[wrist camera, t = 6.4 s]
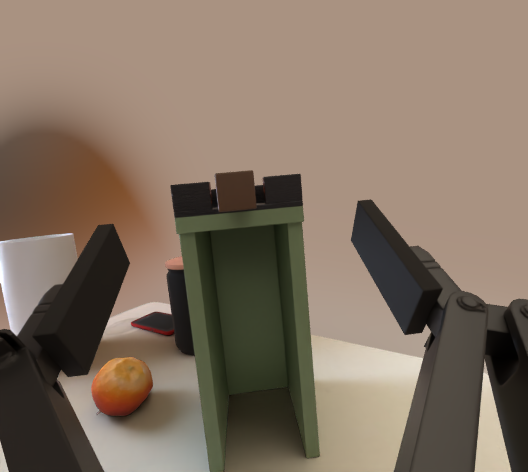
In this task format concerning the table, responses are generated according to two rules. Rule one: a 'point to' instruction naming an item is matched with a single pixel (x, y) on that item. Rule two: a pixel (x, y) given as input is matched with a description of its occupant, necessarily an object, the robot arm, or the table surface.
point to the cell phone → (156, 323)
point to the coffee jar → (179, 305)
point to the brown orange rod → (235, 191)
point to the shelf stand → (249, 315)
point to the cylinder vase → (33, 272)
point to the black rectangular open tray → (267, 197)
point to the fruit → (121, 386)
